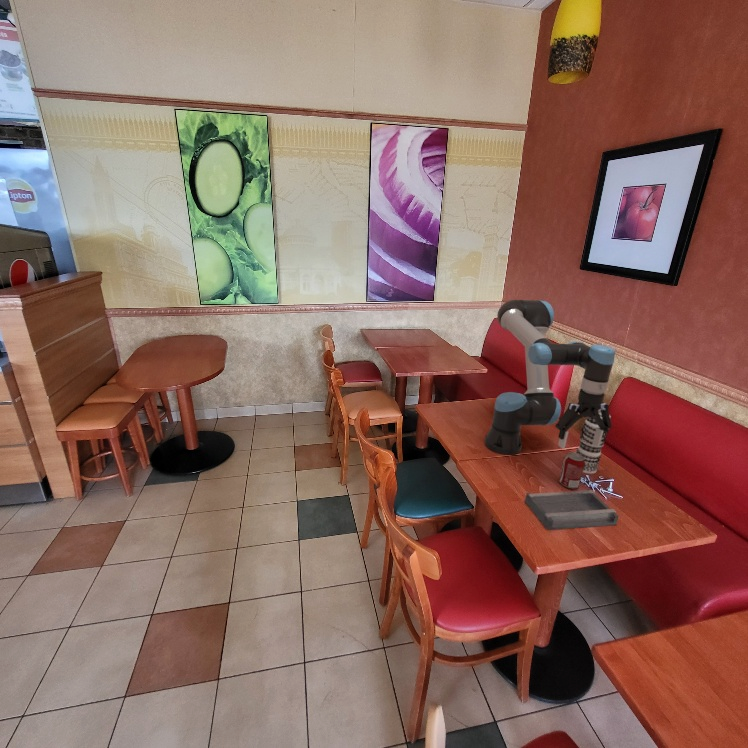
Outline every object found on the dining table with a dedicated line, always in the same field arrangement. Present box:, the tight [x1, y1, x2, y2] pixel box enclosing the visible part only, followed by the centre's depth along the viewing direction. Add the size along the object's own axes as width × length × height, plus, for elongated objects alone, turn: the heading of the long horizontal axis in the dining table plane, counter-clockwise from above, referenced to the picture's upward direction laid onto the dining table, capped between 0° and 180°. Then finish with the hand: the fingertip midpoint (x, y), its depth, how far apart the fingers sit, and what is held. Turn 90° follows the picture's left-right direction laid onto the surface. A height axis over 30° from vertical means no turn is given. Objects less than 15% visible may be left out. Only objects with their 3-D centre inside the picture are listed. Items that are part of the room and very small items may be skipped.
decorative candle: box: [576, 410, 612, 474], centre depth 156 cm, size 9×9×25 cm
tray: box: [524, 488, 620, 531], centre depth 133 cm, size 14×24×4 cm, turn 99°
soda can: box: [558, 451, 585, 489], centre depth 147 cm, size 7×7×12 cm
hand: (578, 446), depth 143 cm, fingers open, 13 cm apart
